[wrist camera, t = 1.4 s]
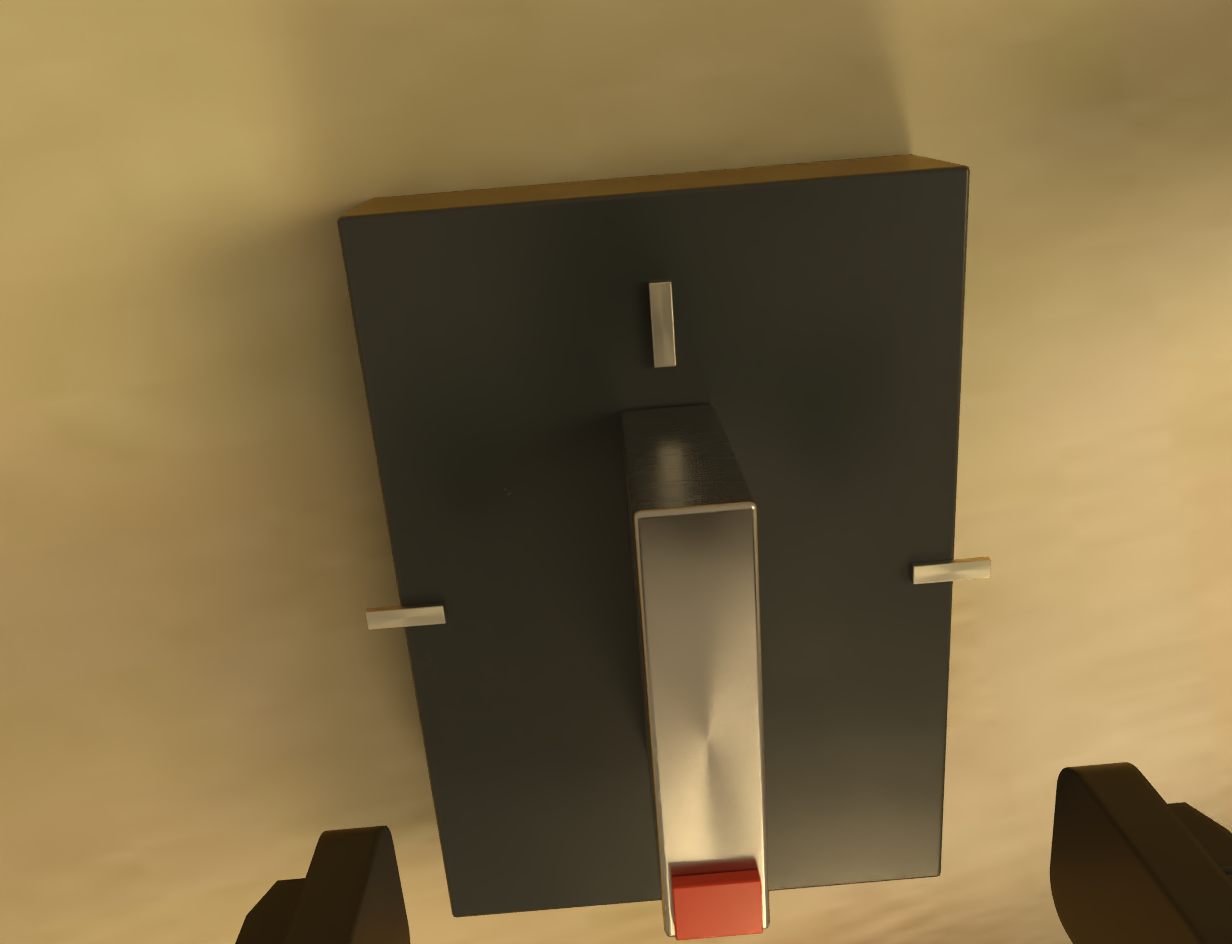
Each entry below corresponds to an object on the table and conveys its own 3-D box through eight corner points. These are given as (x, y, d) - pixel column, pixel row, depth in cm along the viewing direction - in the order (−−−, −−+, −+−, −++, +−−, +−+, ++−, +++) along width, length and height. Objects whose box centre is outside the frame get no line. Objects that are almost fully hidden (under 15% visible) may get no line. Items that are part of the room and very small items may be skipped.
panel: (338, 200, 19) (294, 221, 16) (946, 151, 19) (1013, 163, 16) (440, 823, 24) (421, 927, 21) (925, 782, 24) (973, 881, 21)
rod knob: (619, 410, 18) (633, 520, 13) (714, 402, 18) (761, 510, 13) (646, 759, 20) (667, 953, 16) (730, 752, 20) (774, 944, 16)
